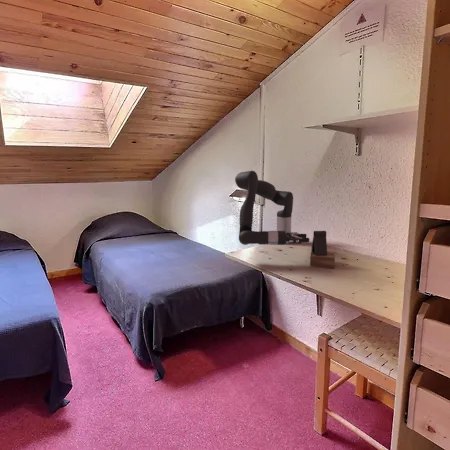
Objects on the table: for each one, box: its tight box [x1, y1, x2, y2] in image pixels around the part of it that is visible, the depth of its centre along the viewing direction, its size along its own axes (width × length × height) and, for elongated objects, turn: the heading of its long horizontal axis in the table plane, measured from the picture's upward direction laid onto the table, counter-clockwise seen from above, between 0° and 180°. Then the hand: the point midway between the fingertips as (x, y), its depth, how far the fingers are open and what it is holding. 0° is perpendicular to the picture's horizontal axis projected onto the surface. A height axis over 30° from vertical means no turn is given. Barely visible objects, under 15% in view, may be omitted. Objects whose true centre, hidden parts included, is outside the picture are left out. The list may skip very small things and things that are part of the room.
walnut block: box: [309, 250, 336, 270], centre depth 187 cm, size 12×12×6 cm
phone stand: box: [310, 230, 328, 256], centre depth 187 cm, size 9×6×12 cm, turn 1°
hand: (307, 237), depth 186 cm, fingers open, 8 cm apart
